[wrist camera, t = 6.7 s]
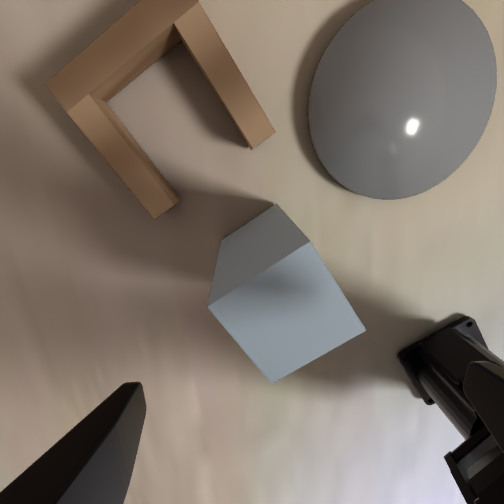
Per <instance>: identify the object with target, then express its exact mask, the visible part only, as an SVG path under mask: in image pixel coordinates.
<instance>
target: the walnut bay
mask: <svg viewBox="0 0 504 504" xmlns="http://www.w3.org/2000/svg"><path fill="white" fill-rule="evenodd" d="M181 40H182V41H183V43H184V44H185V46H186V47H187V49H188V51H189V52H190V54H191V55H192V57H193V59H194V60H195V62H196V63H197V65H198V66H199V68H200V70H201V71H202V73H203V74H204V76H205V78H206V79H207V81H208V82H209V84H210V85H211V87H212V89H213V90H214V92H215V93H216V95H217V96H218V98H219V100H220V101H221V103H222V104H223V106H224V108H225V109H226V111H227V112H228V114H229V115H230V117H231V119H232V120H233V122H234V123H235V125H236V127H237V128H238V130H239V131H240V133H241V134H242V136H243V138H244V139H245V141H246V142H247V144H248V146H249V147H250V149H251V150H252V149H253V148H254V147H256V146H257V145H259V144H260V143H261V142H263V141H264V140H266V139H267V138H268V137H270V136H271V135H272V134H274V133H275V130H274V128H273V126H272V125H271V123H270V121H269V120H268V118H267V116H266V115H265V113H264V111H263V110H262V108H261V106H260V104H259V103H258V101H257V99H256V98H255V96H254V94H253V93H252V91H251V89H250V88H249V86H248V84H247V82H246V81H245V79H244V77H243V76H242V74H241V72H240V71H239V69H238V67H237V66H236V64H235V62H234V60H233V59H232V57H231V55H230V54H229V52H228V50H227V49H226V47H225V45H224V43H223V42H222V40H221V38H220V37H219V35H218V33H217V32H216V30H215V28H214V27H213V25H212V23H211V21H210V20H209V18H208V16H207V15H206V13H205V11H204V10H203V8H202V6H201V5H200V3H199V1H198V0H141V1H139V2H138V3H137V4H136V5H135V6H134V7H132V8H131V9H130V10H129V11H128V12H127V13H126V14H124V15H123V16H122V17H121V18H120V19H119V20H118V21H116V22H115V23H114V24H113V25H112V26H111V27H110V28H108V29H107V30H106V31H105V32H104V33H103V34H102V35H100V36H99V37H98V38H97V39H96V40H95V41H94V42H92V43H91V44H90V45H89V46H88V47H87V48H85V49H84V50H83V51H82V52H81V53H80V54H79V55H77V56H76V57H75V58H74V59H73V60H72V61H71V62H69V63H68V64H67V65H66V66H65V67H64V68H63V69H61V70H60V71H59V72H58V73H57V74H56V75H55V76H53V77H52V78H51V79H50V80H49V81H48V82H46V83H45V84H44V85H45V86H46V88H47V89H48V90H49V91H50V93H51V94H52V95H53V96H54V97H55V99H56V100H57V101H58V102H59V104H60V105H61V106H62V107H63V108H64V110H65V111H66V112H67V113H68V115H69V116H70V117H71V118H72V119H73V121H74V122H75V123H76V124H77V126H78V127H79V128H80V129H81V131H82V132H83V133H84V134H85V135H86V137H87V138H88V139H89V140H90V142H91V143H92V144H93V145H94V146H95V148H96V149H97V150H98V151H99V153H100V154H101V155H102V156H103V157H104V159H105V160H106V161H107V162H108V164H109V165H110V166H111V167H112V169H113V170H114V171H115V172H116V173H117V175H118V176H119V177H120V178H121V180H122V181H123V182H124V183H125V184H126V186H127V187H128V188H129V189H130V191H131V192H132V193H133V194H134V195H135V197H136V198H137V199H138V200H139V202H140V203H141V204H142V205H143V206H144V208H145V209H146V210H147V211H148V213H149V214H150V215H151V216H152V218H153V219H156V218H157V217H159V216H160V215H161V214H163V213H164V212H166V211H167V210H168V209H170V208H171V207H173V206H174V205H175V204H177V203H178V202H180V201H181V200H180V198H179V197H178V196H177V194H176V193H175V192H174V190H173V189H172V188H171V186H170V185H169V184H168V182H167V181H166V180H165V179H164V177H163V176H162V175H161V173H160V172H159V171H158V169H157V168H156V167H155V165H154V164H153V163H152V161H151V160H150V159H149V158H148V156H147V155H146V154H145V152H144V151H143V150H142V148H141V147H140V146H139V144H138V143H137V142H136V140H135V139H134V138H133V137H132V135H131V134H130V133H129V131H128V130H127V129H126V127H125V126H124V125H123V123H122V122H121V121H120V119H119V118H118V117H117V116H116V114H115V113H114V112H113V110H112V109H111V108H110V106H109V105H108V104H107V101H109V100H110V99H111V98H112V97H113V96H115V95H116V94H117V93H118V92H120V91H121V90H122V89H123V88H124V87H126V86H127V85H128V84H129V83H130V82H132V81H133V80H134V79H135V78H137V77H138V76H139V75H140V74H141V73H143V72H144V71H145V70H146V69H147V68H149V67H150V66H151V65H152V64H154V63H155V62H156V61H157V60H158V59H160V58H161V57H162V56H163V55H164V54H166V53H167V52H168V51H169V50H171V49H172V48H173V47H174V46H175V45H177V44H178V43H179V42H180V41H181Z"/></svg>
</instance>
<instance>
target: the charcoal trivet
mask: <svg viewBox="0 0 504 504" xmlns="http://www.w3.org/2000/svg"><path fill="white" fill-rule="evenodd" d="M496 85H497V68H496V58H495V53H494V49H493V45H492V42H491V39H490V37H489V34H488V32H487V30H486V28H485V26H484V24H483V23H482V21H481V20H480V18H479V17H478V16H477V15H476V13H475V12H474V11H473V10H472V9H471V8H470V7H469V6H468V5H467V4H466V3H464V2H463V1H462V0H373V1H372V2H370V3H369V4H367V5H366V6H364V7H362V8H361V9H360V10H359V11H358V12H356V13H355V14H354V15H353V16H352V17H351V18H350V19H349V20H348V21H347V22H346V23H345V24H344V25H343V26H342V27H341V29H340V30H339V31H338V32H337V34H336V35H335V36H334V38H333V39H332V41H331V42H330V43H329V45H328V46H327V48H326V50H325V52H324V53H323V55H322V57H321V59H320V61H319V64H318V66H317V68H316V71H315V74H314V77H313V81H312V84H311V88H310V94H309V101H308V124H309V131H310V136H311V140H312V143H313V147H314V150H315V152H316V154H317V156H318V158H319V160H320V162H321V163H322V165H323V167H324V168H325V170H326V171H327V172H328V173H329V174H330V175H331V177H332V178H333V179H335V180H336V181H337V182H338V183H339V184H340V185H342V186H343V187H345V188H347V189H348V190H350V191H352V192H355V193H357V194H359V195H363V196H367V197H370V198H375V199H383V200H392V199H401V198H407V197H410V196H414V195H417V194H419V193H422V192H424V191H427V190H429V189H430V188H432V187H434V186H436V185H438V184H439V183H440V182H442V181H443V180H445V179H446V178H447V177H449V176H450V175H451V174H452V173H453V172H454V171H455V170H457V169H458V168H459V166H460V165H461V164H462V163H463V162H464V161H465V160H466V159H467V157H468V156H469V155H470V153H471V152H472V151H473V149H474V148H475V146H476V145H477V143H478V141H479V140H480V138H481V136H482V134H483V132H484V130H485V128H486V126H487V123H488V120H489V117H490V115H491V112H492V108H493V104H494V100H495V93H496Z"/></svg>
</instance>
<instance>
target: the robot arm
mask: <svg viewBox="0 0 504 504" xmlns="http://www.w3.org/2000/svg"><path fill="white" fill-rule="evenodd" d="M397 358H398V360H399V361H400V363H401V365H402V366H403V368H404V370H405V371H406V373H407V375H408V376H409V378H410V379H411V381H412V383H413V384H414V386H415V388H416V389H417V391H418V393H419V394H420V396H421V398H422V399H423V401H424V402H425V403H426V404H427V405H432V404H434V403H436V404H437V405H438V407H439V408H440V409H441V410H442V411H443V413H444V414H445V415H446V416H447V418H448V419H449V420H450V421H451V422H452V424H453V425H454V426H455V427H456V429H457V430H458V431H459V432H460V434H461V435H462V436H463V437H464V438H465V441H464V442H463V443H462V444H461V445H459V446H458V447H457V448H456V449H455V450H454V451H452V452H448V453H447V454H446V455H445V456H444V458H445V460H446V462H447V464H448V466H449V468H450V471H451V474H452V475H453V477H454V479H455V481H456V483H457V485H458V487H459V489H460V491H461V493H462V495H463V497H464V499H465V501H466V503H467V504H504V361H503V360H501V359H500V358H499V357H497V356H496V355H495V354H493V353H492V352H491V351H489V350H488V348H487V345H486V343H485V341H484V339H483V337H482V334H481V332H480V330H479V328H478V326H477V324H476V321H475V320H474V319H472V318H471V317H469V316H465V317H463V318H461V319H459V320H457V321H455V322H453V323H452V324H450V325H448V326H446V327H444V328H442V329H441V330H439V331H437V332H435V333H433V334H431V335H430V336H428V337H426V338H424V339H422V340H420V341H419V342H417V343H415V344H413V345H411V346H409V347H408V348H406V349H404V350H402V351H400V352H399V353H398V355H397ZM145 415H146V402H145V397H144V392H143V387H142V384H141V383H140V382H127V383H124V384H122V385H121V386H120V387H119V388H118V389H117V390H116V391H114V392H113V393H112V394H111V395H110V396H109V397H108V398H107V399H105V400H104V401H103V402H102V403H101V404H100V405H99V406H97V407H96V408H95V409H94V410H93V411H92V412H91V413H90V414H88V415H87V416H86V417H85V418H84V419H83V420H82V421H80V422H79V423H78V424H77V425H76V426H75V427H74V428H73V429H71V430H70V431H69V432H68V433H67V434H66V435H65V436H64V437H62V438H61V439H60V440H59V441H58V442H57V443H56V444H54V445H53V446H52V447H51V448H50V449H49V450H48V451H47V452H45V453H44V454H43V455H42V456H41V457H40V458H39V459H38V460H36V461H35V462H34V463H33V464H32V465H31V466H30V467H28V468H27V469H26V470H25V471H24V472H23V473H22V474H21V475H19V476H18V477H17V478H16V479H15V480H14V481H13V482H12V483H10V484H9V485H8V486H7V487H6V488H5V489H4V490H2V491H1V492H0V504H123V503H124V500H125V497H126V494H127V490H128V487H129V484H130V480H131V476H132V472H133V468H134V464H135V459H136V455H137V450H138V446H139V442H140V437H141V433H142V429H143V424H144V420H145Z"/></svg>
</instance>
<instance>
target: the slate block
mask: <svg viewBox="0 0 504 504" xmlns="http://www.w3.org/2000/svg"><path fill="white" fill-rule="evenodd" d="M207 307H208V309H209V310H210V311H211V312H212V313H213V315H214V316H215V317H216V318H217V319H218V321H219V322H220V323H221V324H222V325H223V327H224V328H225V329H226V330H227V331H228V333H229V334H230V335H231V336H232V337H233V338H234V340H235V341H236V342H237V343H238V344H239V346H240V347H241V348H242V349H243V350H244V352H245V353H246V354H247V355H248V356H249V358H250V359H251V360H252V361H253V362H254V364H255V365H256V366H257V367H258V368H259V369H260V371H261V372H262V373H263V374H264V375H265V377H266V378H267V379H268V380H269V381H270V383H271V384H272V383H274V382H276V381H278V380H280V379H281V378H283V377H285V376H287V375H288V374H290V373H292V372H294V371H295V370H297V369H299V368H301V367H303V366H304V365H306V364H308V363H310V362H311V361H313V360H315V359H317V358H318V357H320V356H322V355H324V354H326V353H327V352H329V351H331V350H333V349H334V348H336V347H338V346H340V345H341V344H343V343H345V342H347V341H349V340H350V339H352V338H354V337H356V336H357V335H359V334H361V333H363V332H364V331H366V329H365V327H364V326H363V324H362V323H361V321H360V319H359V318H358V316H357V315H356V313H355V311H354V310H353V308H352V307H351V305H350V303H349V302H348V300H347V299H346V297H345V295H344V294H343V292H342V291H341V289H340V287H339V286H338V284H337V283H336V281H335V279H334V278H333V276H332V275H331V273H330V272H329V270H328V268H327V267H326V265H325V264H324V262H323V260H322V259H321V257H320V256H319V254H318V252H317V251H316V249H315V248H314V246H313V244H312V243H311V241H310V240H309V239H308V238H307V237H306V236H305V235H304V233H303V232H302V231H301V230H300V229H299V228H298V227H297V226H296V225H295V223H294V222H293V221H292V220H291V219H290V218H289V217H288V216H287V215H286V213H285V212H284V211H283V210H282V209H281V208H280V207H279V206H278V205H277V203H276V204H275V205H273V206H272V207H270V208H269V209H267V210H266V211H264V212H263V213H261V214H260V215H258V216H257V217H255V218H254V219H253V220H251V221H250V222H248V223H247V224H245V225H244V226H242V227H241V228H239V229H238V230H236V231H235V232H233V233H232V234H230V235H229V236H227V237H226V238H224V239H223V240H221V244H220V249H219V254H218V258H217V263H216V268H215V272H214V277H213V282H212V286H211V291H210V296H209V300H208V305H207Z"/></svg>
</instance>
